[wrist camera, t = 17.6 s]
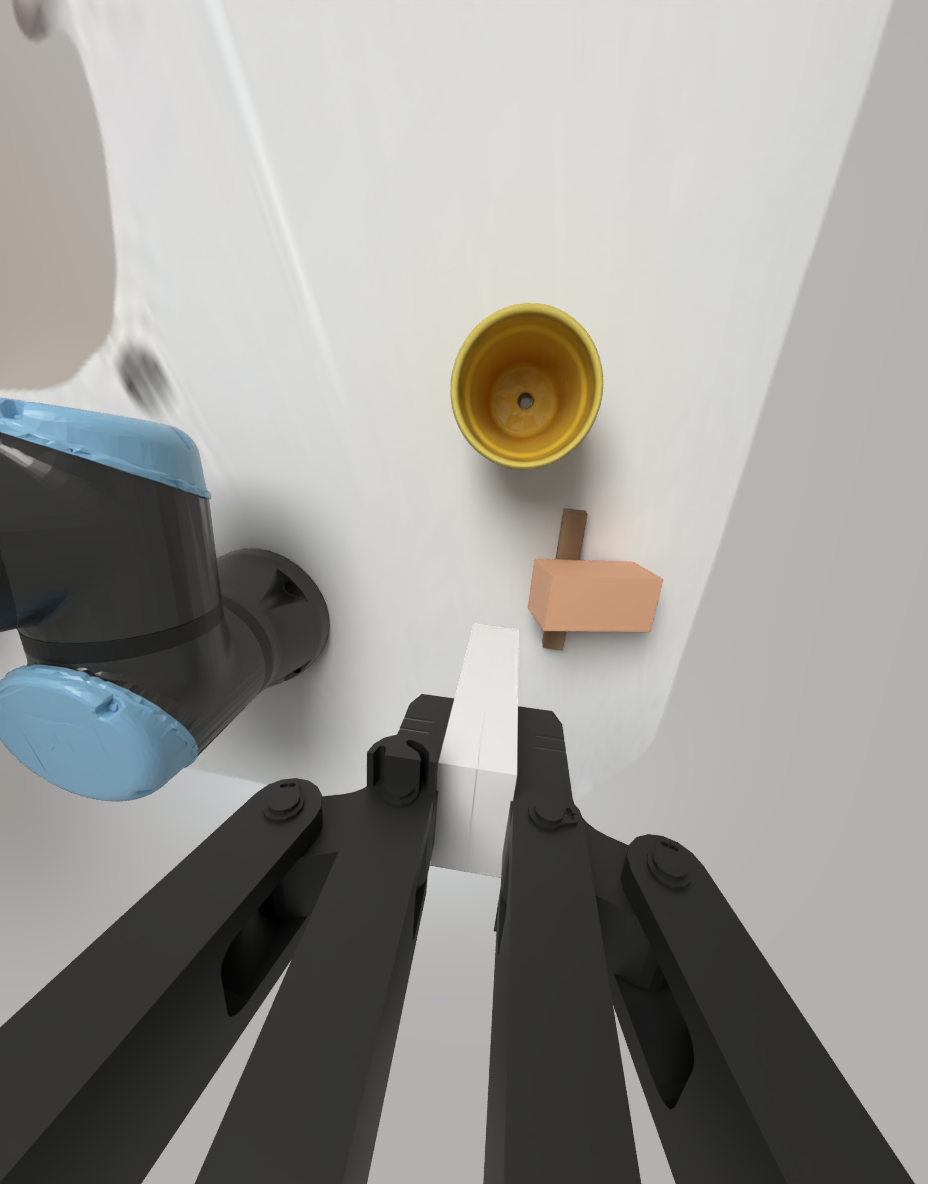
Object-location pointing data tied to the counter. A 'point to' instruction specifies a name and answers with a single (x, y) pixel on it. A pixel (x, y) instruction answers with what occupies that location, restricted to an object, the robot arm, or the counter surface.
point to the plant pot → (526, 386)
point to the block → (593, 595)
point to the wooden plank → (567, 550)
